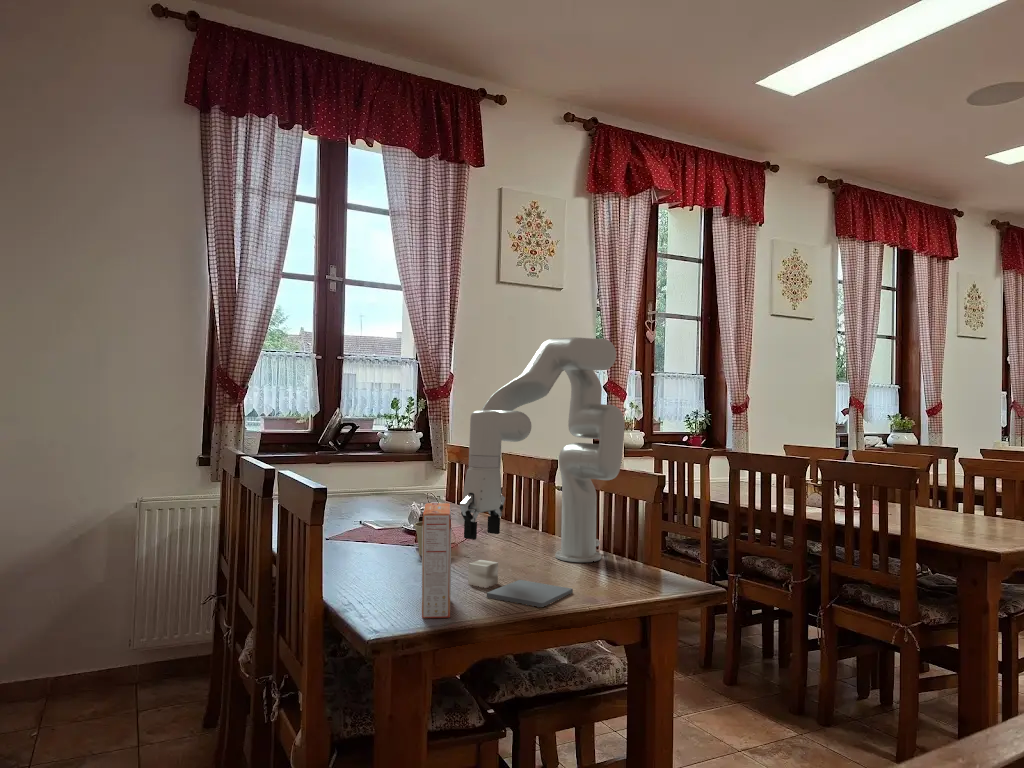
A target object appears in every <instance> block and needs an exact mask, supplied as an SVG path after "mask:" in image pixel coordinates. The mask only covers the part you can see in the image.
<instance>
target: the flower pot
mask: <svg viewBox="0 0 1024 768" xmlns="http://www.w3.org/2000/svg"><path fill="white" fill-rule="evenodd" d="M413 526H414V528H415V531H416V537H417V545H418V552H419V553H418V554H419V556H420V557H422V521H418V522H415V523H413Z"/></svg>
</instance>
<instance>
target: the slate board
mask: <svg viewBox="0 0 1024 768" xmlns="http://www.w3.org/2000/svg"><path fill="white" fill-rule="evenodd" d="M573 589H574V588H571V587H564V586H559V585H554V584H548V583H547V584H546V583H543V582H542V583H541V582H537V581H530V580H525V579H518V580H515V581H513V582H511V583H507V584H505V585H503V586H500V587H498V588H495V589H492V590H490V591H487V592H486V598H487V597H488V599H493V600H500V601H503V600H504V602H508V601H510V602H509V603H513V602H517V603H516V604H518V603H522V604H521V605H524V604H527V605H526V606H529V605H532V606H531V607H534V606H537V607H536V608H539V607H544V606H546V605H548V604H550V603H552V602H554V601H556V600H558V599H560V598H562V597H564V596H566V595H568V594H570V595H572V594H574V593H573V591H574V590H573ZM571 593H572V594H571ZM568 596H569V595H568ZM566 597H567V596H566ZM564 598H565V597H564ZM562 599H563V598H562ZM560 600H561V599H560ZM558 601H559V600H558ZM556 602H557V601H556ZM554 603H555V602H554ZM552 604H553V603H552ZM550 605H551V604H550ZM548 606H549V605H548ZM546 607H547V606H546ZM544 608H545V607H544Z"/></svg>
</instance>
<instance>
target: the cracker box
mask: <svg viewBox="0 0 1024 768" xmlns="http://www.w3.org/2000/svg"><path fill="white" fill-rule="evenodd" d="M423 508H424V509H423V512H422V513H423V514H422V521H421V522H422V556H421V617H422V619H447V618H449V619H450V618H451V599H452V598H451V594H452V593H451V590H452V589H451V584H452V580H451V579H452V576H451V575H452V567H451V566H452V509H451V508H452V507H451V503H448V502H447V503H446V502H445V503H443V502H441V503H440V502H427V503H424V507H423Z"/></svg>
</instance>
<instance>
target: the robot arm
mask: <svg viewBox="0 0 1024 768" xmlns="http://www.w3.org/2000/svg"><path fill="white" fill-rule="evenodd" d="M616 359H617V350H616V348H615V345H614V344H613V342H611V341H610V340H608V339H606V338H594V337H593V338H592V337H591V338H589V337H574V336H573V337H557V338H556V337H555V338H548V339H547V340H545V341H543V342H542V343H541V344H540V346H539V347H538V349H537V350H536V352H535V353H534V355H533V356H532V358H531V360H530V361H528V364H527V365H526V367H525V368H524V369H523V371H522V373H521V374H520V375H519V376H518V377H515V378H514V379H512V380H510V381H509V382H508V383H506V384H505V385H503V386H502V387H501V388H499V389H498V390H497V391H495V392H494V393H493V394H492V395H490V397H488V399H487V401H486V402H485V404H484V405H483V407H482V408H481V409H480V410H474V411H472V412H471V415H470V419H469V420H470V422H469V446H468V447H469V448H468V449H469V450H468V468H467V470H466V474H465V477H464V478H465V479H464V486H463V495H462V501H461V502H459V507H460V508H459V509H460V514H461V516H462V521H463V522H464V523H463V525H464V526H463V538H464V539H467V540H472V541H473V540H474V541H475V540H477V537H478V521H476V520H477V518H478V516H479V514H481V513H488V514H489V515H488V516H487V530H486V531H487V533H488V534H494V535H499V534H500V532H501V517H502V512H503V509H504V504H505V501H506V497H505V496H504V495H503V494H502V477H501V463H502V460H501V459H502V442H510V443H511V442H513V443H516V442H521V441H524V440H525V439H526V438H527V437H529V435H530V434H531V431H532V422H531V419H530V417H529V416H528V415H527V414H525V412H522V411H518V410H516V409H517V408H520V407H521V406H525V405H526V404H531V403H533V402H536V401H539V400H541V399H544V398H545V397H547V395H548V394H550V392H551V390H552V388H553V387H554V385H555V383H556V382H557V380H558V379H559V377H560V375H562V372H565V373H566V375H567V377H568V379H569V382H570V389H571V390H570V401H569V402H570V403H569V413H568V422H567V423H568V425H567V426H568V427H567V428H568V431H569V433H570V434H571V435H572V436H574V437H575V438H579V439H580V438H581V439H593V440H598V441H599V443H589V442H572V443H568V444H565V445H564V446H563V447H562V448H561V449H560V452H559V455H558V465H559V466H558V467H559V471H560V477H561V528H560V530H561V532H560V535H561V537H560V538H561V541H560V542H561V543H560V550H557V551H556V552H555V554H554V555H555V558H556V559H558V560H561V561H563V562H564V561H565V562H569V563H593V561H594V562H598V561H600V560H601V559H602V554H601V552H599V551H596V550H597V547H598V546H600V545H601V542H600V541H601V540H599V539H598V538H597V495H598V494H597V491H596V487H595V485H594V483H593V481H592V480H601V481H610V480H611V481H612V480H613V479H616V478H617V476H618V475H619V473H620V470H621V467H622V459H623V450H624V440H625V438H624V437H625V428H626V427H625V426H626V425H625V418H624V417H625V416H624V414H623V411H621V408H619V407H617V405H612V404H605V403H604V404H602V393H603V392H602V391H603V389H602V388H603V387H602V384H601V380H600V379H599V377H598V375H597V374H596V372H595V371H607V370H609V369H611V367H613V365H614V364H615V362H616Z"/></svg>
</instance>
